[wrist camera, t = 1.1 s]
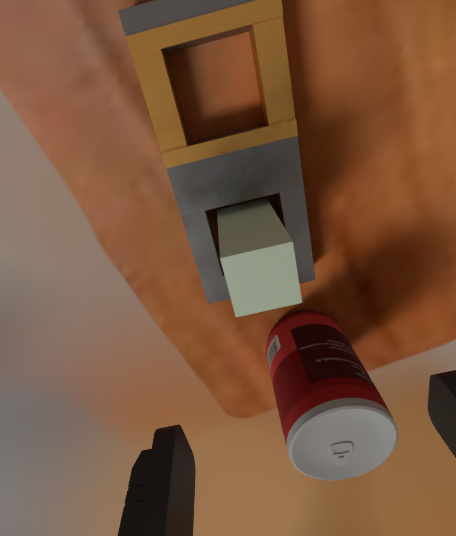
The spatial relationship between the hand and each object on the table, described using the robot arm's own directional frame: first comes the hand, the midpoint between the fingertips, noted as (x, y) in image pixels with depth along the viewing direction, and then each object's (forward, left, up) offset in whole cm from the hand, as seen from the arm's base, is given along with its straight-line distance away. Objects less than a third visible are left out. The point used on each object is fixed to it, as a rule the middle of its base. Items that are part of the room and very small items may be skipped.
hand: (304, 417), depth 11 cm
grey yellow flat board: (0, -5, -18) cm, 19 cm away
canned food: (-3, +13, -18) cm, 23 cm away
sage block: (0, 0, -18) cm, 18 cm away
